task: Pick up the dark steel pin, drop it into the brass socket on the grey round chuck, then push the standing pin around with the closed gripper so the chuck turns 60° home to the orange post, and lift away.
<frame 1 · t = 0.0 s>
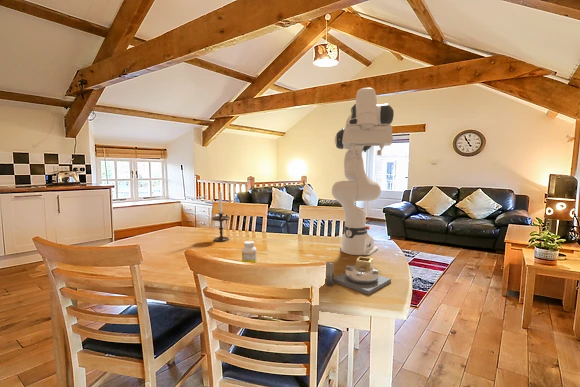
hand: (367, 155, 123), 52 cm above the table, tool tilted 20°, fingers open, 8 cm apart
candlestick: (221, 240, 190), on the table
supplement bottle: (249, 269, 139), on the table
nut base: (361, 282, 124), on the table
steel pin: (329, 284, 121), on the table
grey round chuck: (362, 269, 124), point 5 cm above the table, hinge at 0.0°
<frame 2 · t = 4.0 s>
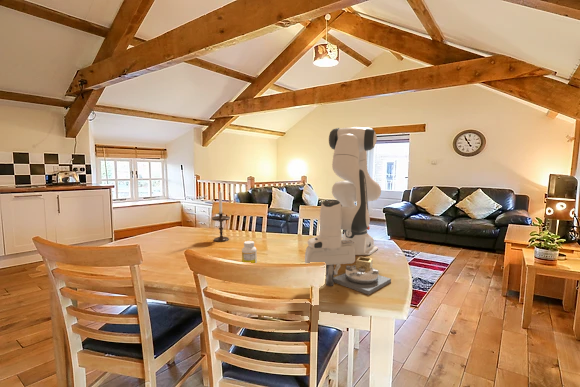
hand: (329, 274, 121), 4 cm above the table, tool pointing down, fingers closed on steel pin, 3 cm apart
steel pin: (329, 284, 121), on the table, touching gripper
everything else where it was.
when the fingers open (9 cm above the table, at t = 10.5 s): steel pin stays where it is, resting on grey round chuck.
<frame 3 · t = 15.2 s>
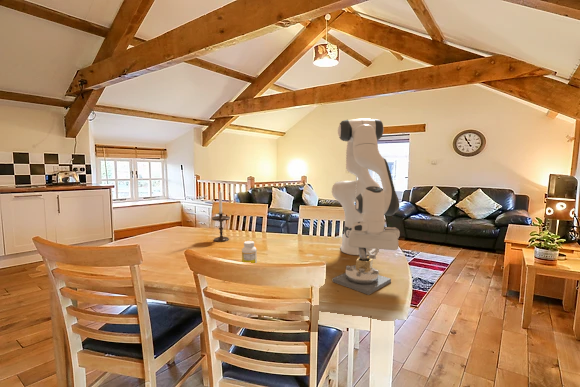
hand: (372, 258, 126), 9 cm above the table, tool pointing down, fingers closed
steel pin: (364, 266, 127), point 5 cm above the table, tilted 8°, touching grey round chuck
grey round chuck: (362, 269, 124), point 5 cm above the table, hinge at 0.0°, touching steel pin
everything else where it was.
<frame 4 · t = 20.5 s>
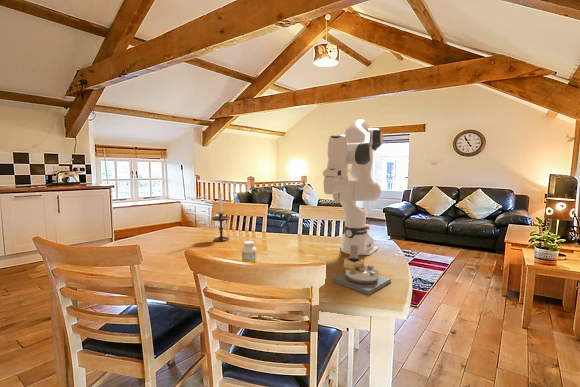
hand: (336, 202, 134), 31 cm above the table, tool pointing down, fingers closed
steel pin: (353, 266, 128), point 5 cm above the table, touching grey round chuck
grey round chuck: (361, 269, 124), point 5 cm above the table, hinge at 61.7°, touching steel pin
everything else where it was.
at the end: grey round chuck at +62° (first picture: +0°); steel pin inside the target area (0.5 cm from its centre), point 4.8 cm above the table; the gripper is holding nothing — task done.
